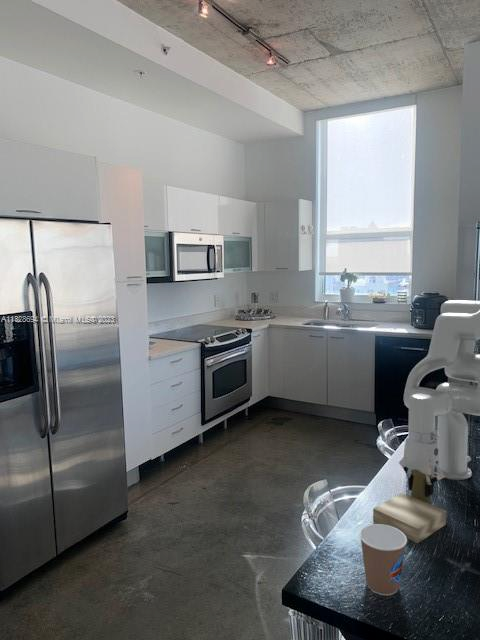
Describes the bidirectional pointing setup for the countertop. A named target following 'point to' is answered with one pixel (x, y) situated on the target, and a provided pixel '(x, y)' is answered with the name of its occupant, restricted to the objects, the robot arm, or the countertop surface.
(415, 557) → the countertop surface
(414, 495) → the olive tall waisted piece
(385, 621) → the countertop surface
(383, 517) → the birch plinth
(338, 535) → the countertop surface
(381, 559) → the coffee cup
